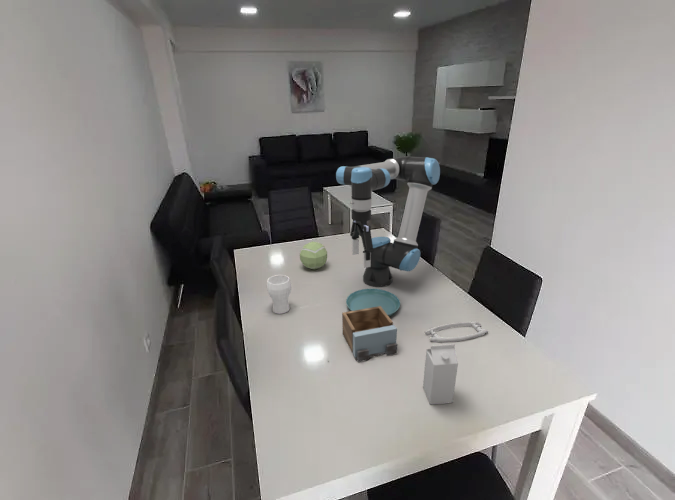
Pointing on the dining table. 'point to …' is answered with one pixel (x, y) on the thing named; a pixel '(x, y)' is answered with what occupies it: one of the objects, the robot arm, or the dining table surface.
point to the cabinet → (366, 328)
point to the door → (374, 339)
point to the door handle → (454, 339)
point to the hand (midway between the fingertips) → (360, 260)
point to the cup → (279, 292)
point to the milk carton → (440, 373)
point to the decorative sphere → (313, 255)
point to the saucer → (373, 300)
